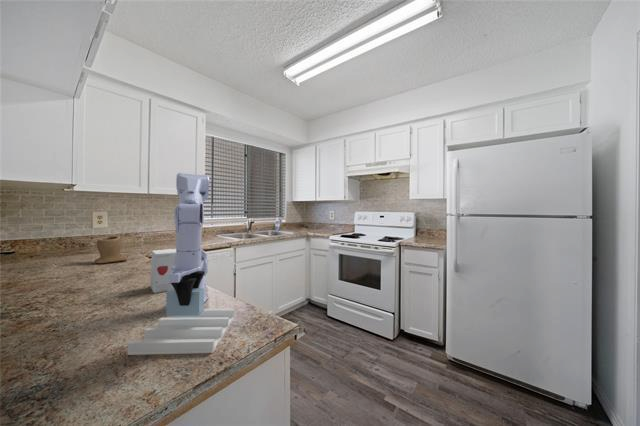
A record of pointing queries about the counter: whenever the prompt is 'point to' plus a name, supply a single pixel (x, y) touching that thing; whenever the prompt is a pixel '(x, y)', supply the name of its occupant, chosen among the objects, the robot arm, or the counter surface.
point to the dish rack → (184, 334)
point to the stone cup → (110, 250)
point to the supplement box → (162, 269)
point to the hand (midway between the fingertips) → (187, 302)
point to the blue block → (191, 310)
